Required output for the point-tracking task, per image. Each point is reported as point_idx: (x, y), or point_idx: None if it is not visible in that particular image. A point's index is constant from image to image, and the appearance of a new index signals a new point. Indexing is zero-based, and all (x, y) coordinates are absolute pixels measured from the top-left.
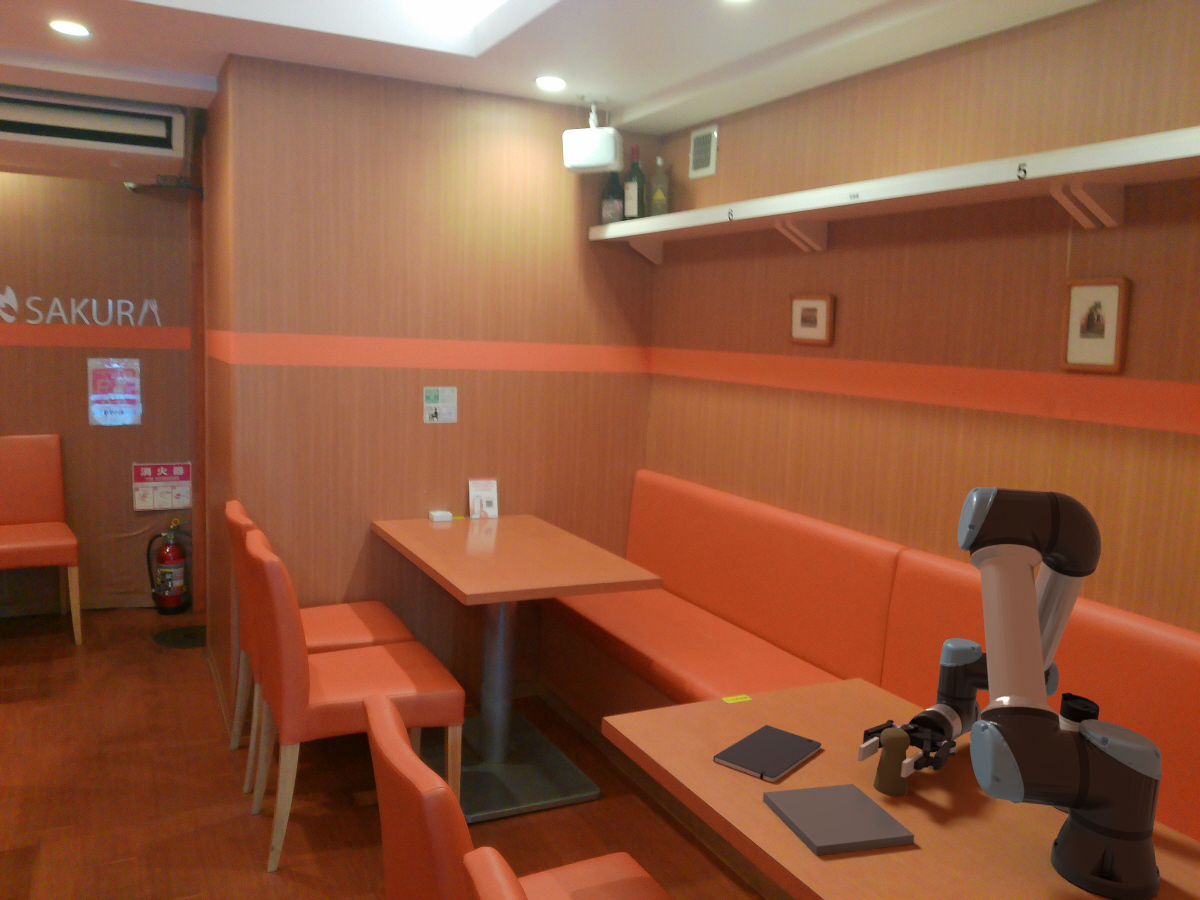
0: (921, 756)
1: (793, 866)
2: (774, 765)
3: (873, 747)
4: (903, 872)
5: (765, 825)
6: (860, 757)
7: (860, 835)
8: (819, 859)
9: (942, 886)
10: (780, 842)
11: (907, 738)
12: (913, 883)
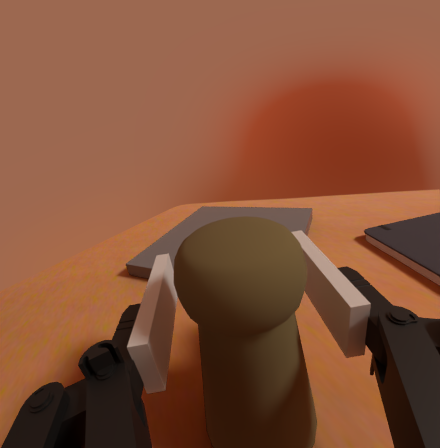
0: (132, 357)
1: (207, 204)
2: (418, 245)
3: (323, 296)
4: (129, 241)
5: None
6: None
7: (181, 229)
8: None
9: (89, 251)
10: None
11: (176, 254)
12: (117, 239)
